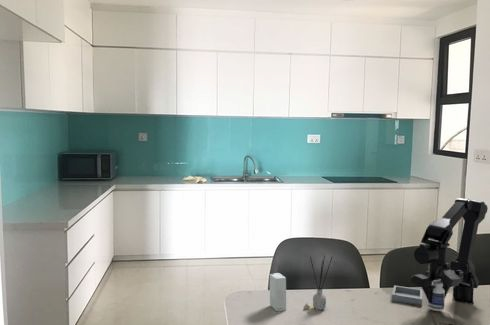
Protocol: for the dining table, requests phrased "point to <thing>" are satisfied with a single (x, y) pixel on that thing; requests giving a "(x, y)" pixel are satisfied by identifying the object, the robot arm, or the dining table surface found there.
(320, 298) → the reed diffuser
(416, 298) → the tray
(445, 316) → the dining table surface
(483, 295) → the dining table surface
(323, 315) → the dining table surface
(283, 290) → the skincare box
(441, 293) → the pill bottle
